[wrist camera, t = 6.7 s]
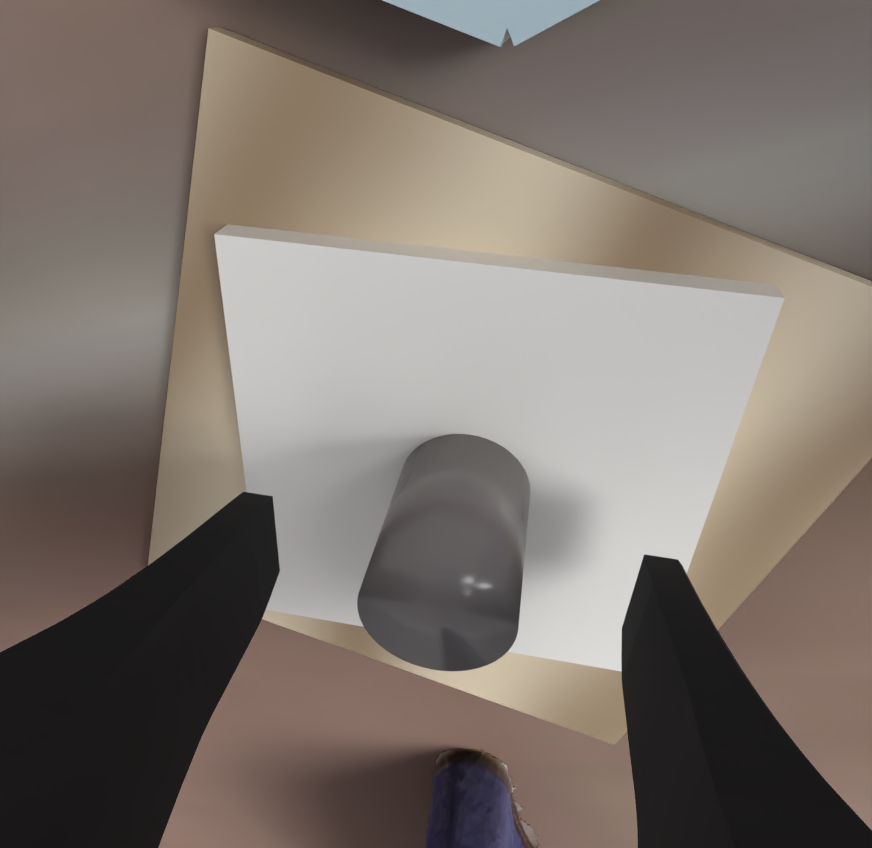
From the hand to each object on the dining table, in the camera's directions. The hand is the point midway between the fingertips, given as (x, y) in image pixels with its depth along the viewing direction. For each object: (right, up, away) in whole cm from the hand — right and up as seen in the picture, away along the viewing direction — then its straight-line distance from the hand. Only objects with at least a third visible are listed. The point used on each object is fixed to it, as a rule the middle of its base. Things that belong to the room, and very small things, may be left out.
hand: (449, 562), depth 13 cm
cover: (0, +2, +2) cm, 3 cm away
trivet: (+1, +2, +2) cm, 3 cm away
